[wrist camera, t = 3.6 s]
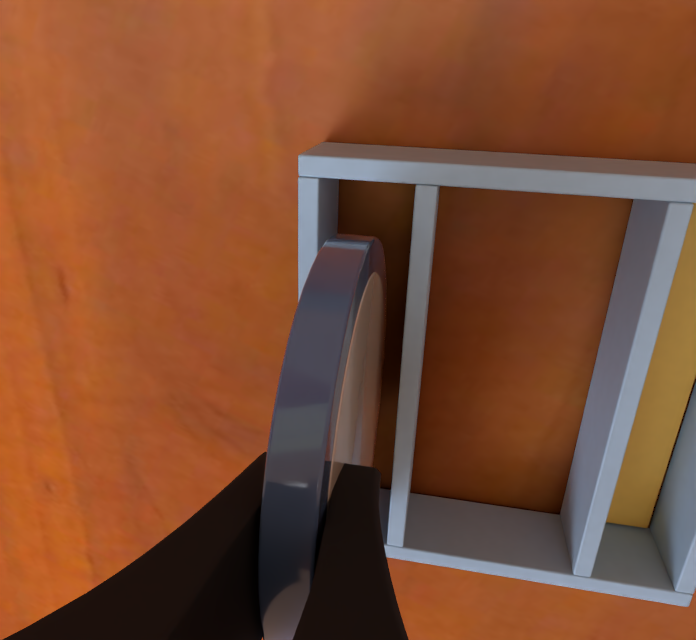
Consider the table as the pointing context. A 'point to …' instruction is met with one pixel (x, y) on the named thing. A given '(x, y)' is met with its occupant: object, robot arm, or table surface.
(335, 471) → the plate
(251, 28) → the table surface
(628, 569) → the rack
